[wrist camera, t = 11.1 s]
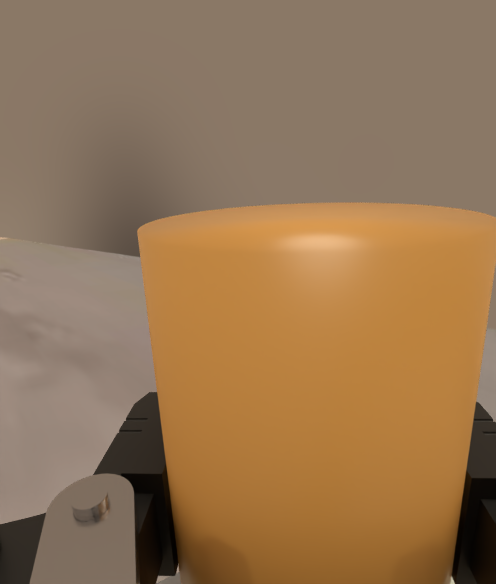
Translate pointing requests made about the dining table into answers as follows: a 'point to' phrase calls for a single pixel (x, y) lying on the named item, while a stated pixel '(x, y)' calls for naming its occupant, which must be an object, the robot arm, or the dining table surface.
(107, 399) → the dining table surface
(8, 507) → the dining table surface
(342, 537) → the orange cylinder
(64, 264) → the dining table surface
